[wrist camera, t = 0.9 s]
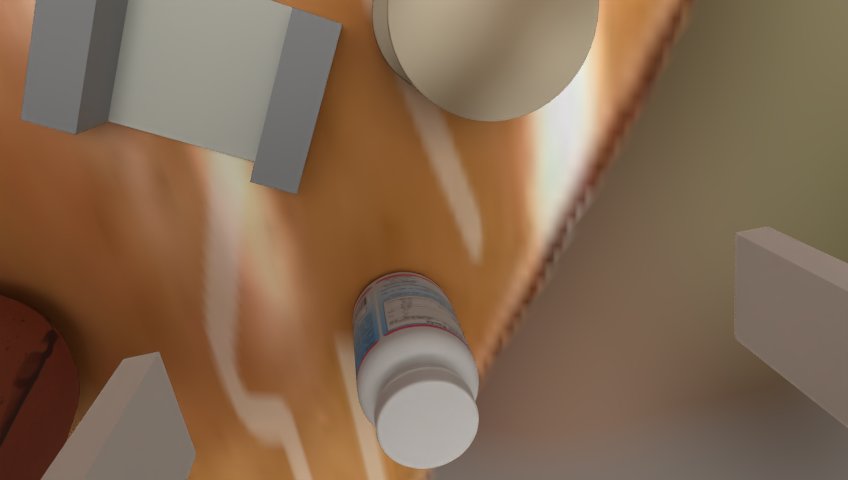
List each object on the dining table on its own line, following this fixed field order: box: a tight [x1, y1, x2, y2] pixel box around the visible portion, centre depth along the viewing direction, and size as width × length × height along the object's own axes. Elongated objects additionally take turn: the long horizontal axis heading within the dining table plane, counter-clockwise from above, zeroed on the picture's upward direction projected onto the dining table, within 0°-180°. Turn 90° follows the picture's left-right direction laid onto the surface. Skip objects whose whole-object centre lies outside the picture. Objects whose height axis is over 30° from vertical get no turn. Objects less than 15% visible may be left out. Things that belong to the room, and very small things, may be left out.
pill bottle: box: [353, 272, 479, 469], centre depth 32 cm, size 6×6×11 cm
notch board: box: [21, 0, 342, 194], centre depth 29 cm, size 12×8×5 cm, turn 72°
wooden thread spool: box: [372, 0, 599, 122], centre depth 27 cm, size 8×8×11 cm
